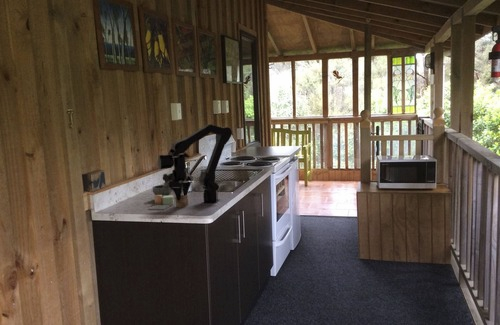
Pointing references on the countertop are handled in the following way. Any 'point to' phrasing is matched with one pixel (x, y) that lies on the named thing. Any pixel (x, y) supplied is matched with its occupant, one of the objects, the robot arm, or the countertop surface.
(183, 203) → the walnut block
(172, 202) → the sage block
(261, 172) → the countertop surface
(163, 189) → the mortar and pestle
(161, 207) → the slate coaster
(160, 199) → the dome-topped tan cylinder
